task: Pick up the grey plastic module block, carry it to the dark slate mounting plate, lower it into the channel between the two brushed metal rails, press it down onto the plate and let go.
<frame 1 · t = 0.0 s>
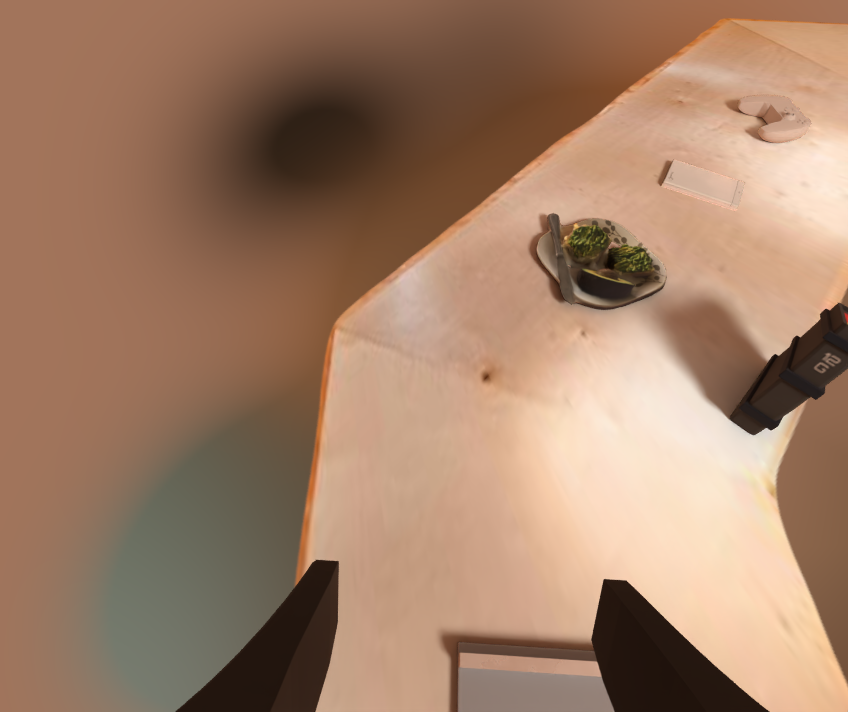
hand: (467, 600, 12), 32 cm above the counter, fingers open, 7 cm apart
avocado toast plate: (595, 270, 66), on the counter
hard drive: (699, 189, 78), on the counter
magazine: (762, 395, 54), on the counter
game controller: (766, 128, 90), on the counter
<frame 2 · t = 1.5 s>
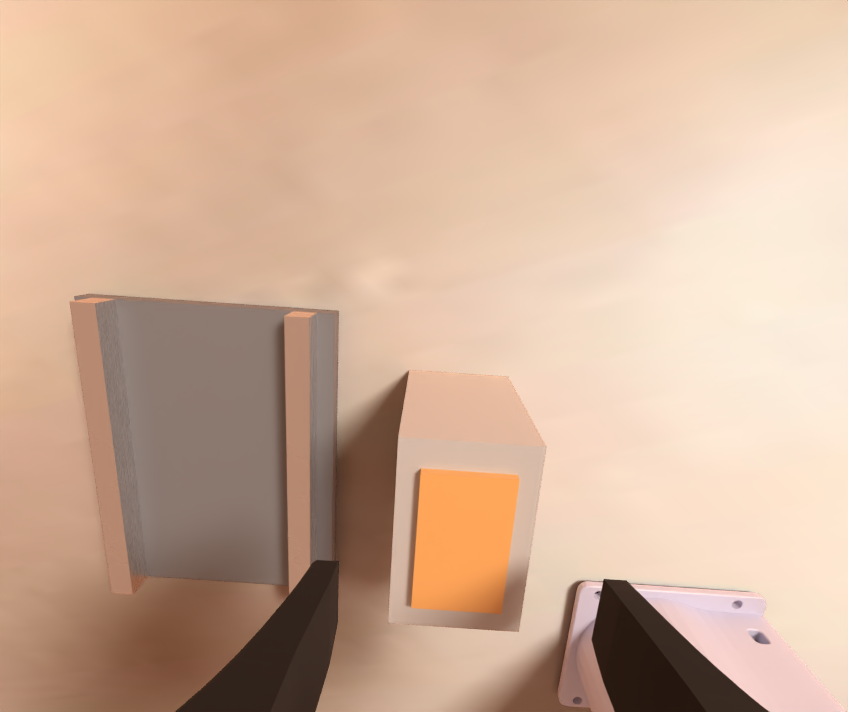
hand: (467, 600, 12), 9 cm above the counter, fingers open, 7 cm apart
module block: (452, 443, 21), on the counter
rail mount: (222, 447, 21), on the counter
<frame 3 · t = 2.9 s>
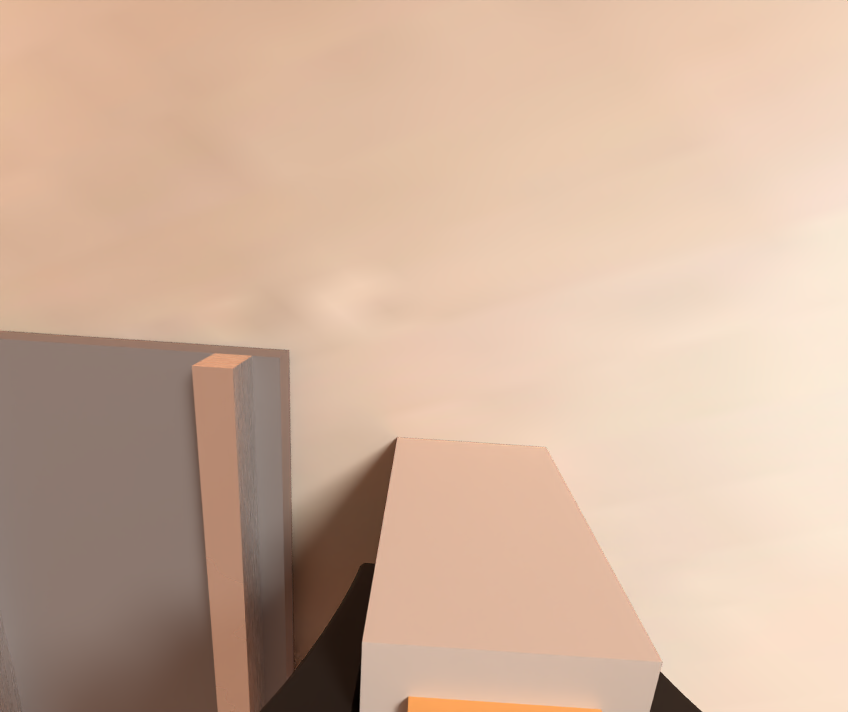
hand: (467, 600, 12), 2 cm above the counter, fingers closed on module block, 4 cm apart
module block: (461, 541, 14), on the counter, touching gripper
rail mount: (125, 545, 15), on the counter
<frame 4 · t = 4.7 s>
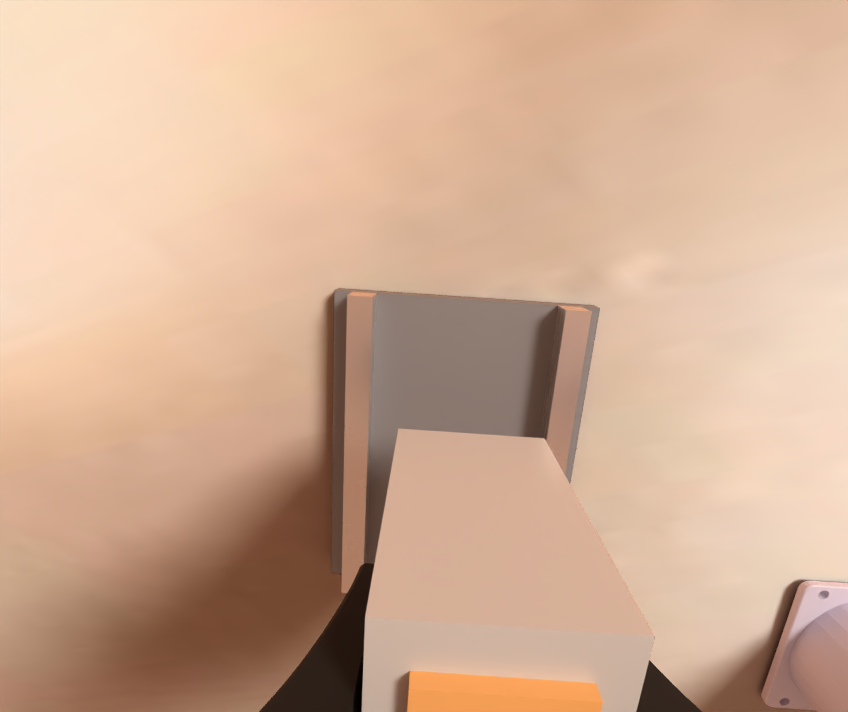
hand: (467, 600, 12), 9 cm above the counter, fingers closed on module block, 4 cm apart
module block: (461, 531, 15), point 7 cm above the counter, touching gripper
rail mount: (452, 444, 21), on the counter
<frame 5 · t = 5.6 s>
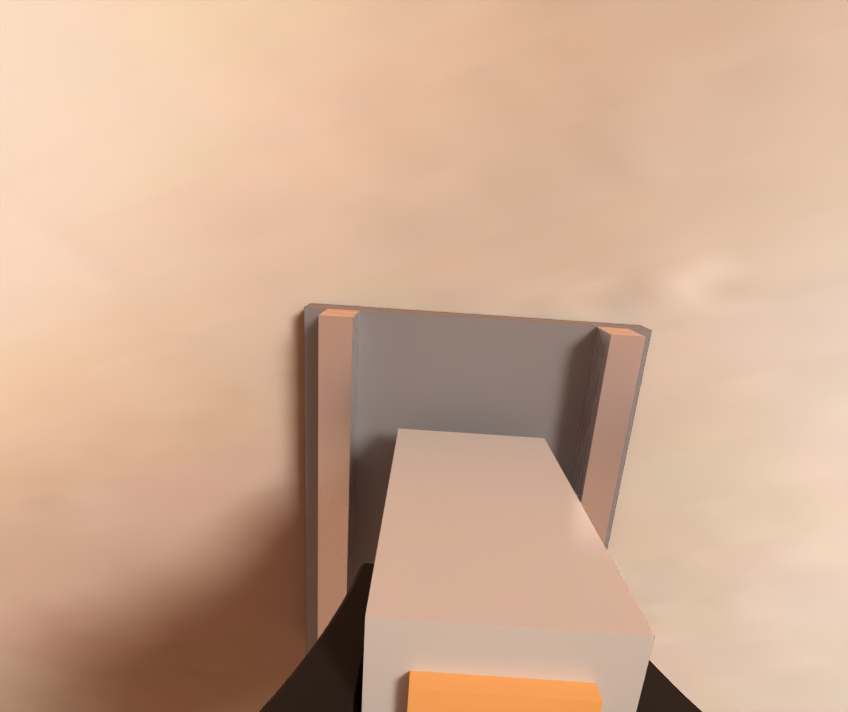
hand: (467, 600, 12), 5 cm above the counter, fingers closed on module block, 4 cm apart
module block: (461, 531, 15), point 2 cm above the counter, touching gripper
rail mount: (457, 498, 17), on the counter
when the fingers open (3 cm above the counter, at t = 6.6 s): module block stays where it is, resting on rail mount.
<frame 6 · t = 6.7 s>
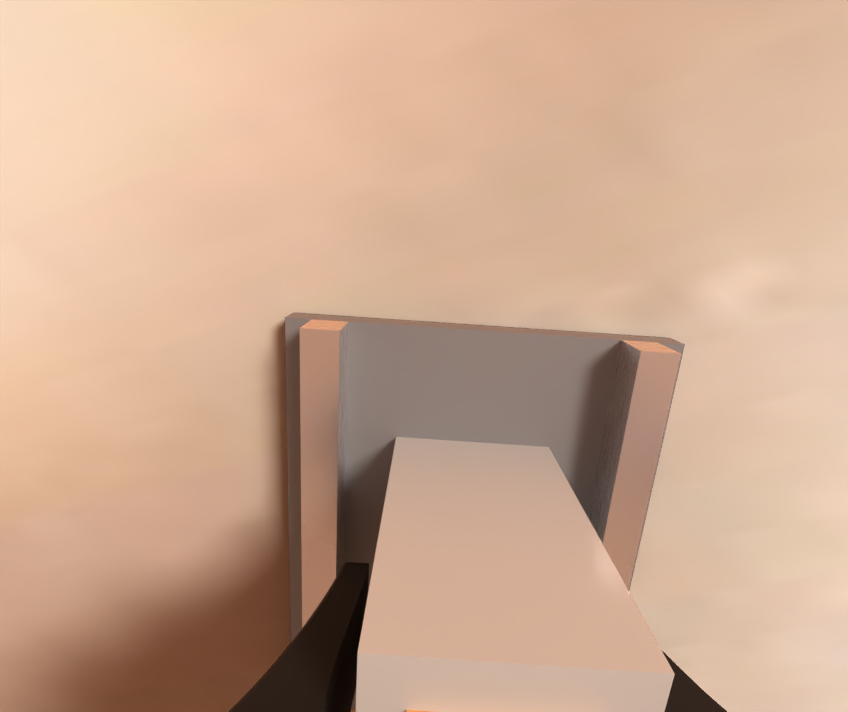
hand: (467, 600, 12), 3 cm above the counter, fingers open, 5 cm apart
module block: (462, 543, 14), point 1 cm above the counter, touching rail mount
rail mount: (460, 531, 15), on the counter
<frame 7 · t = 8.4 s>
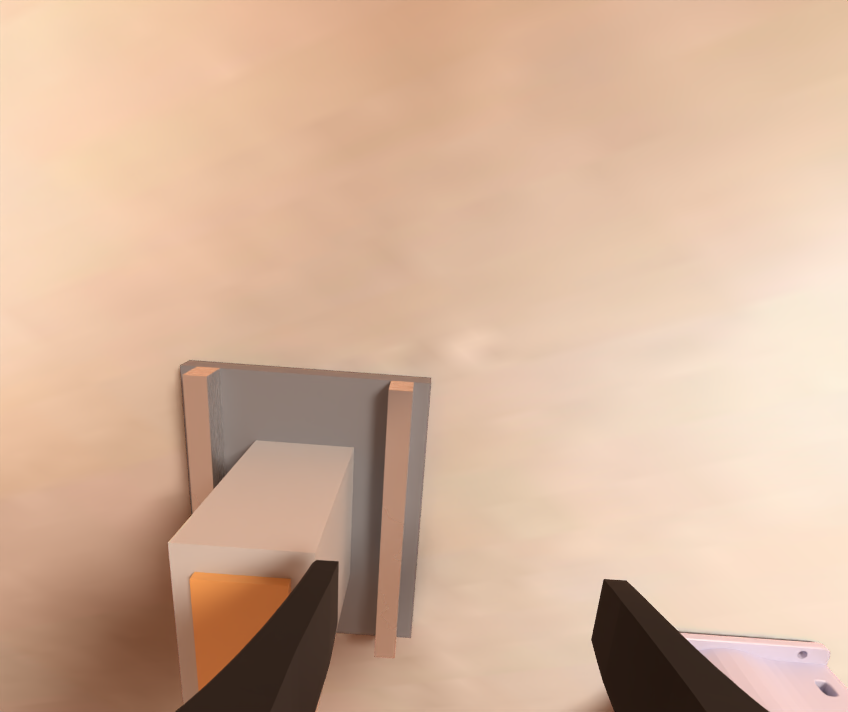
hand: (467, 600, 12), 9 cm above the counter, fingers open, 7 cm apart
module block: (304, 510, 21), point 1 cm above the counter, touching rail mount
rail mount: (309, 503, 22), on the counter
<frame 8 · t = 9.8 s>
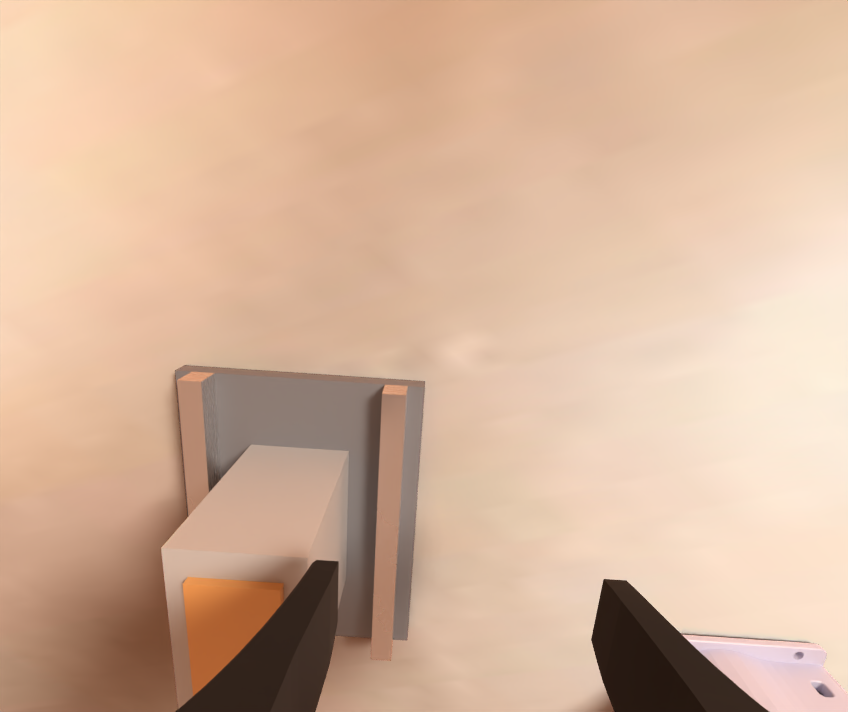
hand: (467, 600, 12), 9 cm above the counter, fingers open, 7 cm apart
module block: (300, 514, 21), point 1 cm above the counter, touching rail mount
rail mount: (305, 507, 22), on the counter
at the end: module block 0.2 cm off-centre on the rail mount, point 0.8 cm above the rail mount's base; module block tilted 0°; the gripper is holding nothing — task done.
